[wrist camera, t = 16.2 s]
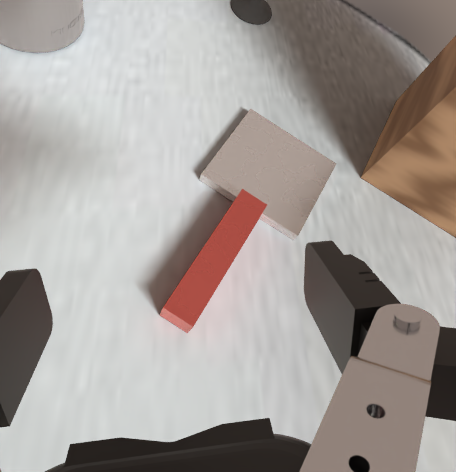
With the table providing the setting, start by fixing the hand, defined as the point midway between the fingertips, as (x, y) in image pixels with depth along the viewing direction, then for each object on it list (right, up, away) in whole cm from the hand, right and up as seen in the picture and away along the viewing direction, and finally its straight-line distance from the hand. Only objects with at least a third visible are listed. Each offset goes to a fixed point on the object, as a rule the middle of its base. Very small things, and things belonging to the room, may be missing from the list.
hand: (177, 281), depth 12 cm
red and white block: (+3, +3, +23) cm, 23 cm away
